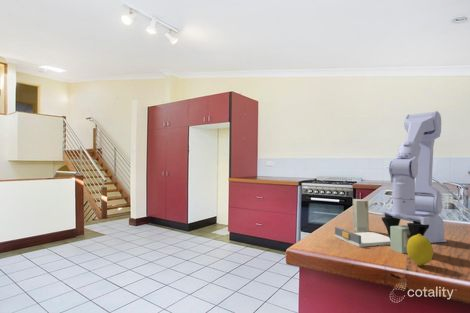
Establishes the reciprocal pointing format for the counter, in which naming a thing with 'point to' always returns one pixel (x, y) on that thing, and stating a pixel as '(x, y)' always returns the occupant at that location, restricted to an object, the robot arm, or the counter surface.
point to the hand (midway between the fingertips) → (404, 244)
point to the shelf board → (362, 238)
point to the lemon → (419, 249)
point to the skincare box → (360, 215)
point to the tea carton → (399, 238)
